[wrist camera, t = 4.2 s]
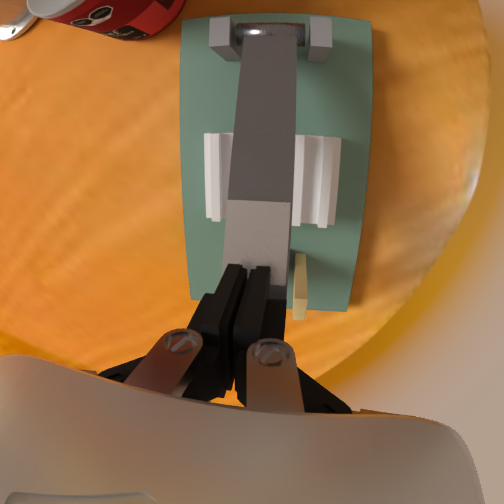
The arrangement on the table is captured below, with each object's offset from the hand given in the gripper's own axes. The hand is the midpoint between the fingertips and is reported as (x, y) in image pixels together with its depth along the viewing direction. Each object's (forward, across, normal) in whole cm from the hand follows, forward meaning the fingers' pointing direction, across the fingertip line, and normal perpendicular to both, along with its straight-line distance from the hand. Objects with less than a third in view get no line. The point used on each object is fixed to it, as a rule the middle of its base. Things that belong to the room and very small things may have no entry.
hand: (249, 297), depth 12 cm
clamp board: (+13, 0, -4) cm, 14 cm away
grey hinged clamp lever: (+5, 0, -4) cm, 7 cm away
